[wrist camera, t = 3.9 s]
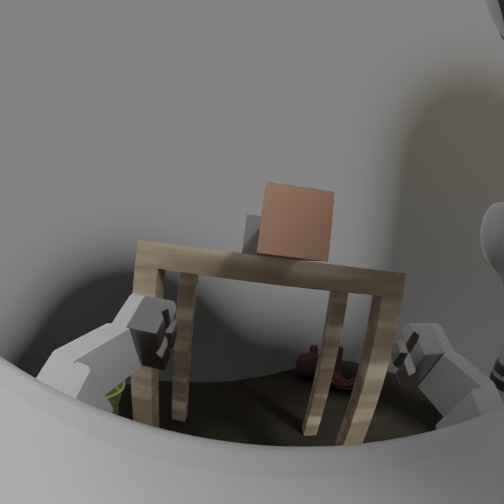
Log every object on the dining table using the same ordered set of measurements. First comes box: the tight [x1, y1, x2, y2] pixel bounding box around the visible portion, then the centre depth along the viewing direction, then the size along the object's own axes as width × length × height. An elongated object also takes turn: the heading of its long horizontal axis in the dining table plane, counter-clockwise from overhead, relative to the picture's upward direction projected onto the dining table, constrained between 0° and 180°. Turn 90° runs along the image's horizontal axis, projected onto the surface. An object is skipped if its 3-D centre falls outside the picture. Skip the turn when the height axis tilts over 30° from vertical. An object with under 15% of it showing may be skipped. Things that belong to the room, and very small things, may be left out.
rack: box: [131, 240, 406, 446], centre depth 28 cm, size 16×22×26 cm
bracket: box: [296, 345, 356, 390], centre depth 54 cm, size 6×17×10 cm, turn 53°
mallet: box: [242, 182, 334, 261], centre depth 22 cm, size 22×6×4 cm, turn 179°
